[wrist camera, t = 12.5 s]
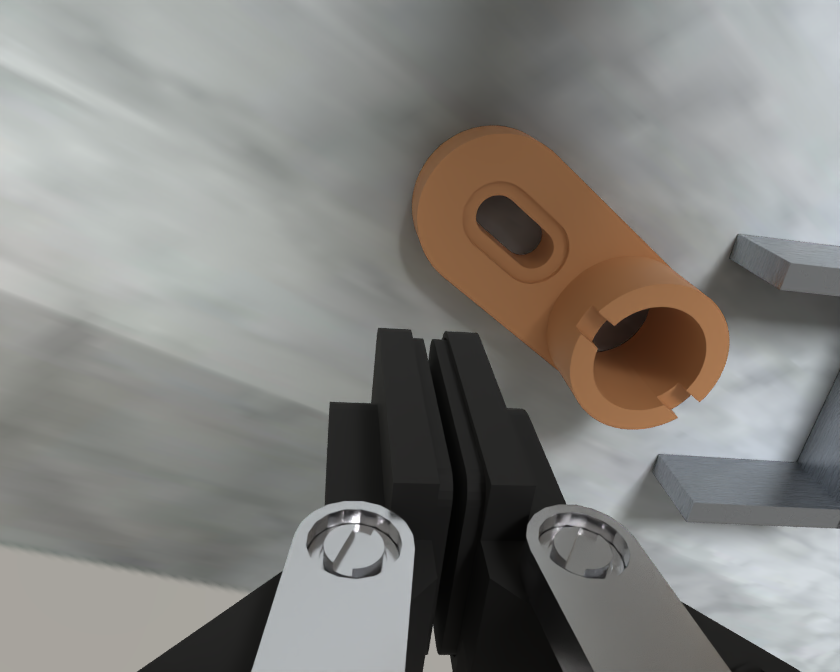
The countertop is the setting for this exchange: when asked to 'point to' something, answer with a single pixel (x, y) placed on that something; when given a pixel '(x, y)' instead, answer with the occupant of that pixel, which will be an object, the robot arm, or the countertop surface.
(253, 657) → the robot arm
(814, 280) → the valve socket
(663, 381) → the bracket
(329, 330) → the countertop surface
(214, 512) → the countertop surface
